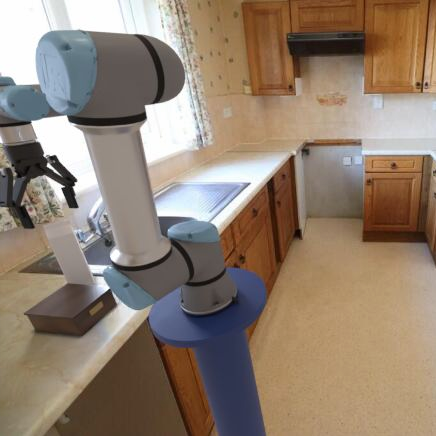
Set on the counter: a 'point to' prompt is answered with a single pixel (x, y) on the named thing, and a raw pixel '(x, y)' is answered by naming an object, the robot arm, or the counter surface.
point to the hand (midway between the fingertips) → (53, 217)
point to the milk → (69, 253)
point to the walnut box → (72, 309)
